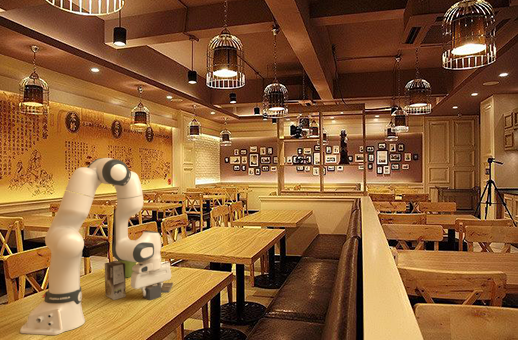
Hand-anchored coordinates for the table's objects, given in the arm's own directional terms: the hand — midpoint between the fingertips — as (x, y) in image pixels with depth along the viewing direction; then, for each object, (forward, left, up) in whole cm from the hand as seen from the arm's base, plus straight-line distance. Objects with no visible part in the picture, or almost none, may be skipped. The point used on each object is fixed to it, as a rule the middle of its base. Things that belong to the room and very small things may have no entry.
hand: (152, 293), depth 180 cm
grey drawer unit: (0, 0, -2) cm, 2 cm away
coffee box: (-18, +3, -2) cm, 18 cm away
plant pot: (-21, +35, -2) cm, 41 cm away
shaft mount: (+1, +12, -2) cm, 12 cm away
